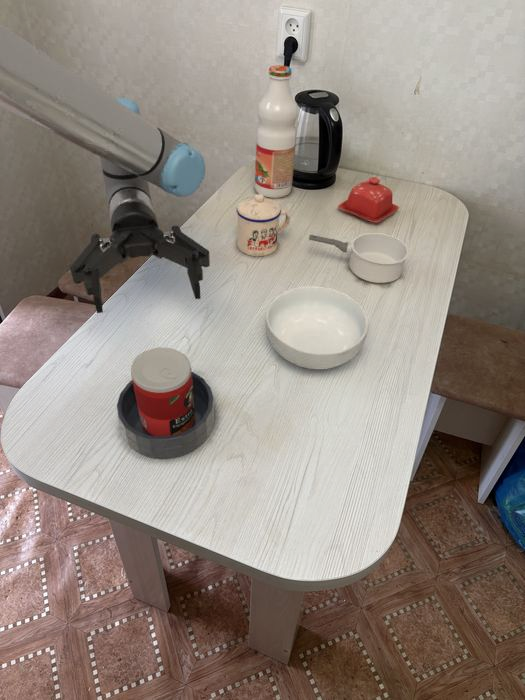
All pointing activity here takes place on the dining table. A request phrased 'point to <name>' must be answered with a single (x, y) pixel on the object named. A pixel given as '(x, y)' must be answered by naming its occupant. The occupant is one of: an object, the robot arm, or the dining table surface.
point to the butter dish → (370, 201)
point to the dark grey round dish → (174, 443)
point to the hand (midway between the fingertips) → (148, 298)
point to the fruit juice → (276, 136)
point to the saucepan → (373, 255)
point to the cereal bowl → (316, 326)
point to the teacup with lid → (259, 225)
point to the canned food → (164, 391)
